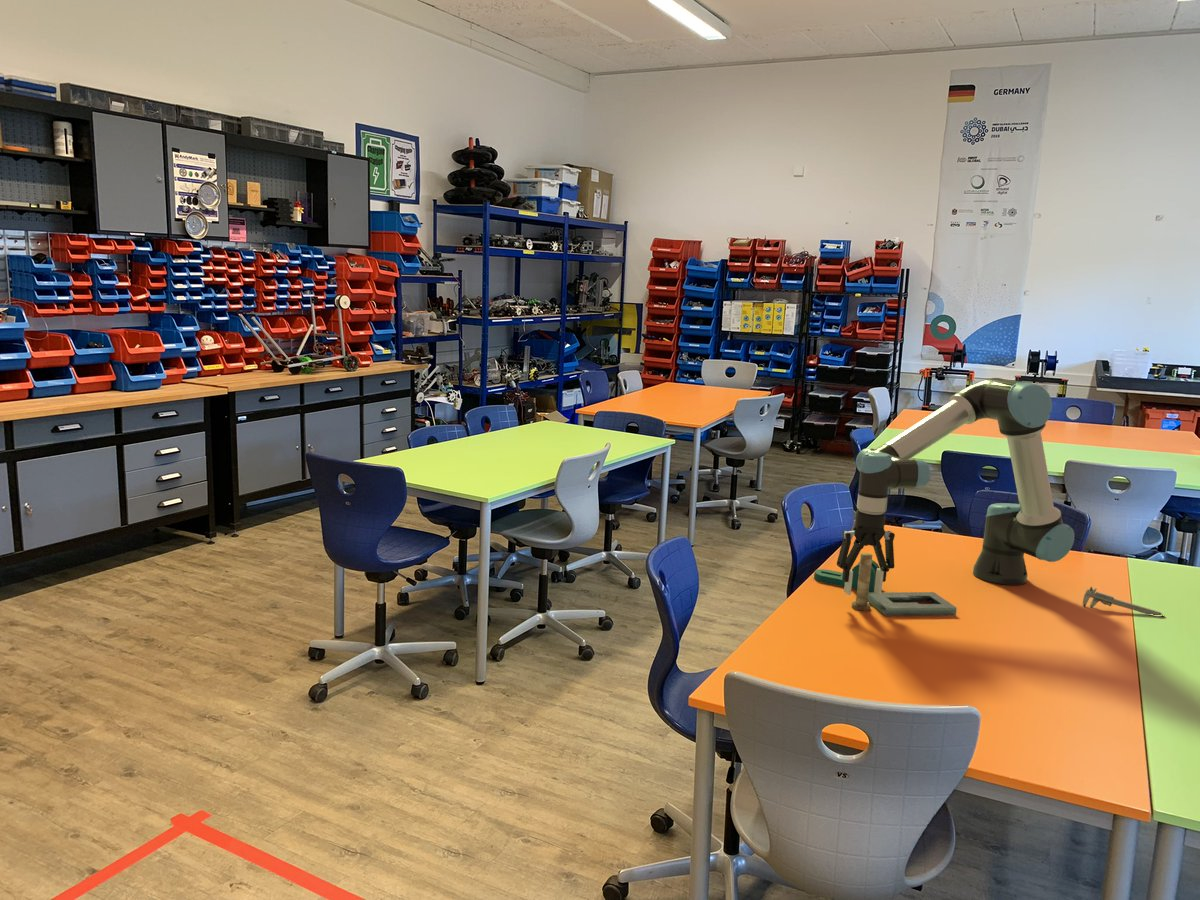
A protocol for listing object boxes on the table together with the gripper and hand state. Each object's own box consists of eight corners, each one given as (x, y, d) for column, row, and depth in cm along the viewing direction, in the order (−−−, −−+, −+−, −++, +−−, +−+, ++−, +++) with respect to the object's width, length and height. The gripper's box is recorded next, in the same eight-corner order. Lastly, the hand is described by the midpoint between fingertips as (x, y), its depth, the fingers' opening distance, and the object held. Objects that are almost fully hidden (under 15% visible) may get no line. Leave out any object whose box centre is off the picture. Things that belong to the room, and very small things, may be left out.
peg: (865, 604, 239) (871, 551, 236) (873, 611, 234) (879, 557, 232) (848, 604, 238) (854, 551, 236) (856, 611, 234) (861, 557, 231)
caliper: (1083, 607, 245) (1086, 586, 244) (1082, 606, 246) (1085, 585, 245) (1165, 618, 240) (1169, 597, 239) (1164, 617, 241) (1168, 595, 240)
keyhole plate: (933, 599, 246) (933, 592, 245) (955, 615, 234) (956, 607, 234) (865, 600, 243) (866, 592, 242) (885, 616, 231) (885, 608, 231)
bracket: (878, 587, 255) (881, 561, 253) (872, 593, 249) (875, 567, 248) (817, 574, 264) (820, 549, 262) (810, 580, 258) (813, 555, 257)
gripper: (901, 507, 237) (892, 588, 241) (828, 506, 234) (820, 588, 238) (914, 514, 229) (905, 597, 233) (839, 514, 226) (831, 598, 230)
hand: (862, 592), depth 236 cm, fingers open, 8 cm apart
